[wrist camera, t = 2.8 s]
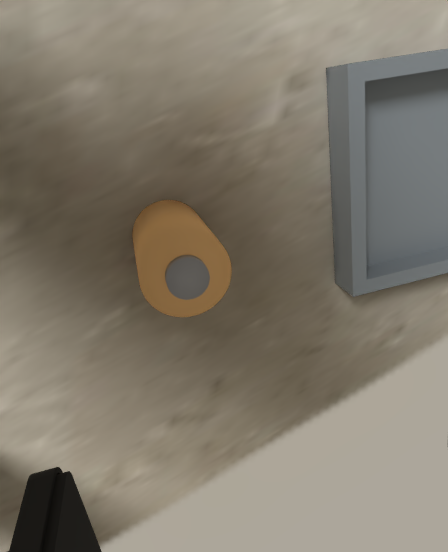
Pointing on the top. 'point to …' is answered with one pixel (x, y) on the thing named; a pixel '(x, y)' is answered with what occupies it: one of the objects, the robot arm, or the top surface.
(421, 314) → the top surface
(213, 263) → the battery cell
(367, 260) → the tray
